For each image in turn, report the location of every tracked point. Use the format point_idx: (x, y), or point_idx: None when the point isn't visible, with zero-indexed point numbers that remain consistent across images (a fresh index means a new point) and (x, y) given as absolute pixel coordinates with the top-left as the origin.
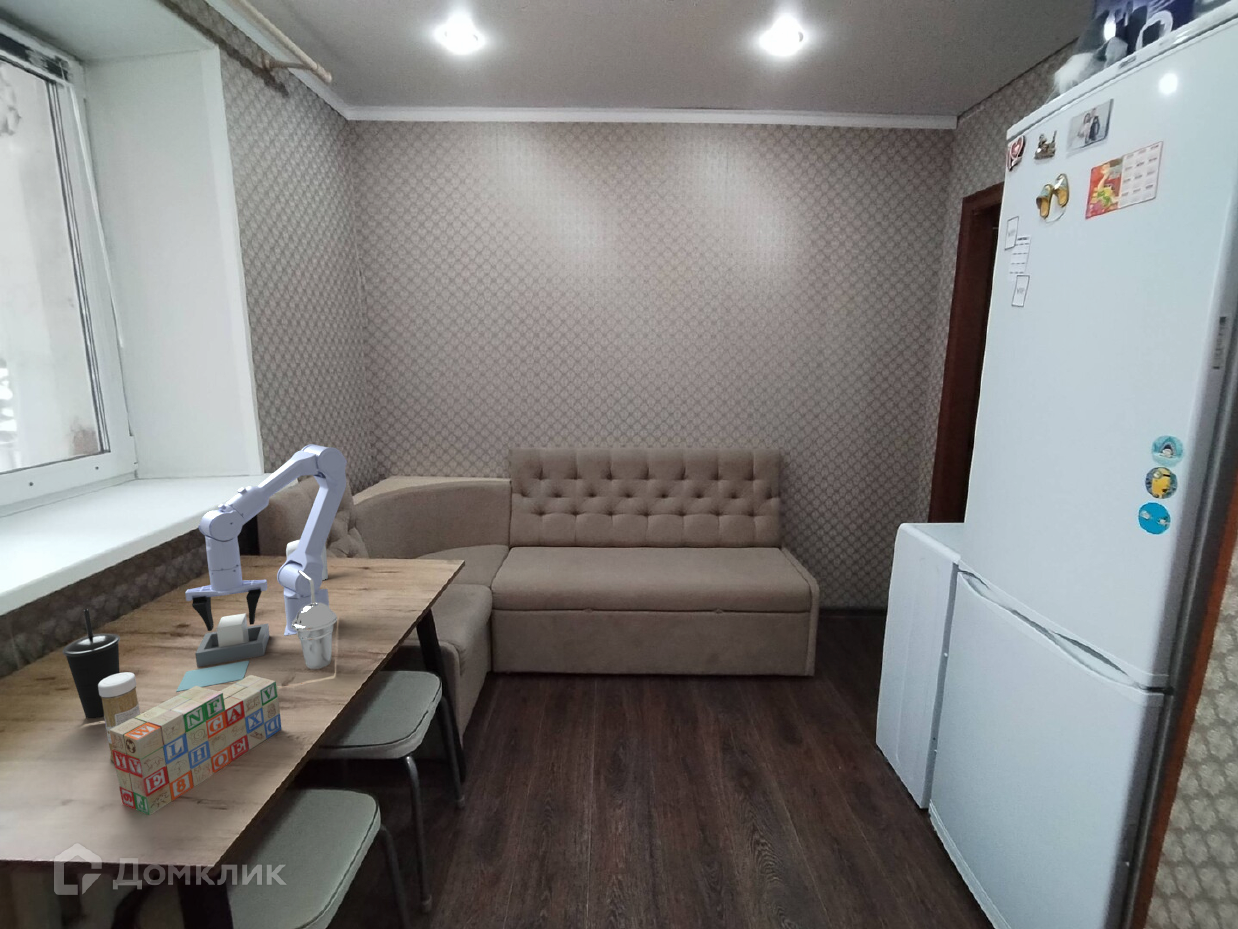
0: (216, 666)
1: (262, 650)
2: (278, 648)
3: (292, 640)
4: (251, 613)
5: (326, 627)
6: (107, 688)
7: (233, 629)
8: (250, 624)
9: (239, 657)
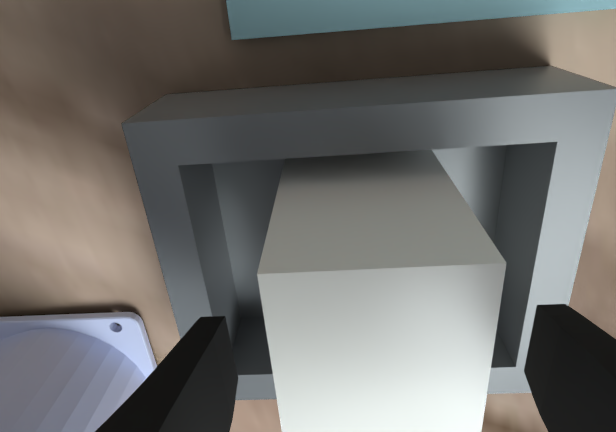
0: (435, 17)
1: (152, 106)
2: (123, 194)
3: (82, 267)
4: (149, 398)
5: None
6: None
7: (337, 243)
8: (219, 318)
9: (302, 90)
